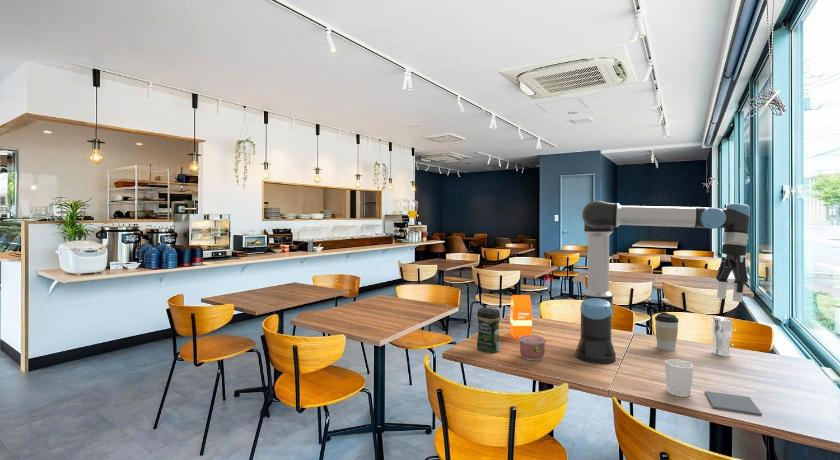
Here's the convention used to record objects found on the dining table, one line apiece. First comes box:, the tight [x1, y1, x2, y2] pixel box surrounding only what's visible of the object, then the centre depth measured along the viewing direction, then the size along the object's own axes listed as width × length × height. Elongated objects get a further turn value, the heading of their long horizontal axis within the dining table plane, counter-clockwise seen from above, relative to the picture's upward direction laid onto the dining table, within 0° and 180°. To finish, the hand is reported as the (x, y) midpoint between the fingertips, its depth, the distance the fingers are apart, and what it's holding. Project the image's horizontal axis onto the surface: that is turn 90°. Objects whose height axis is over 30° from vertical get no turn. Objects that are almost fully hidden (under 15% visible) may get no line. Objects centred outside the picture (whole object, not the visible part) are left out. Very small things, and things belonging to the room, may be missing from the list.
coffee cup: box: [654, 312, 680, 352], centre depth 184 cm, size 9×9×15 cm
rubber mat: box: [704, 390, 763, 416], centre depth 132 cm, size 12×12×1 cm
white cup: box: [664, 358, 694, 398], centre depth 140 cm, size 8×8×10 cm
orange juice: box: [509, 294, 533, 339], centre depth 205 cm, size 8×9×20 cm
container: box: [518, 334, 546, 361], centre depth 175 cm, size 10×10×8 cm
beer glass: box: [711, 316, 733, 358], centre depth 176 cm, size 7×7×15 cm
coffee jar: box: [476, 306, 501, 354], centre depth 184 cm, size 10×8×19 cm
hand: (728, 300), depth 161 cm, fingers open, 13 cm apart
